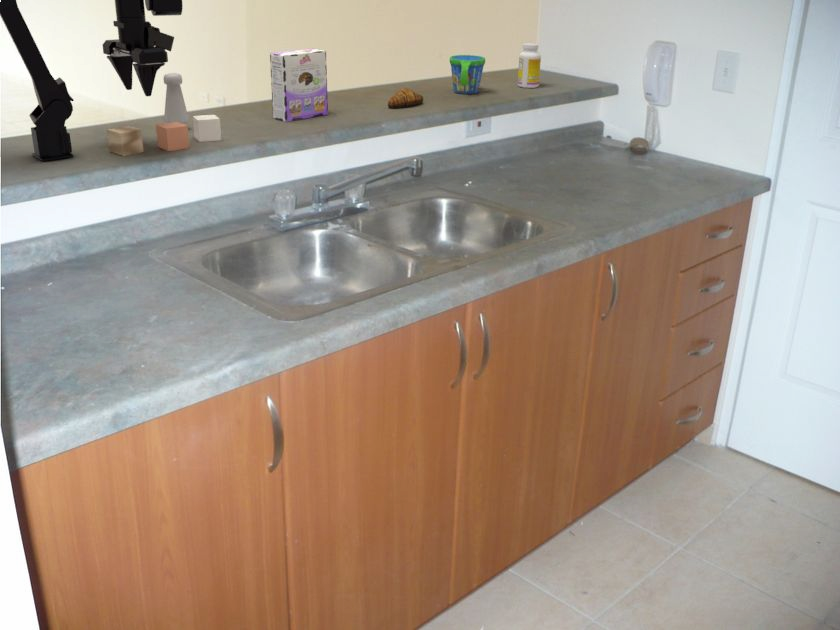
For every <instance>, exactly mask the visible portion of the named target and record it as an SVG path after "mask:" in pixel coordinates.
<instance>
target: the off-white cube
mask: <svg viewBox="0 0 840 630" xmlns="http://www.w3.org/2000/svg"><path fill="white" fill-rule="evenodd" d="M192 124H193V125H192V126H193V135H194V139H196V140H197V141H198V142H199V143H203V142H204V143H205V142H206V143H207V142H214V141H215V142H218V141H222V132H221V130H222V129H221V118H220V117H218V116H217V115H215V114H206V115H205V114H204V115H202V114H201V115H193V116H192Z"/></svg>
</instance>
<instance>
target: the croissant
mask: <svg viewBox="0 0 840 630" xmlns="http://www.w3.org/2000/svg"><path fill="white" fill-rule="evenodd" d="M423 102H424V96H423V95H422V94H420V93H417V92H415V91H413V90H412V89H409V88H407V87H404V88H402V89H400V90H397V91H395V93H394V95H392V96H391V98H389V100H388V102H387V107H388V108H390V109H398V108H404V107H406V108H407V107H413V106H415V105H420V104H422V103H423Z"/></svg>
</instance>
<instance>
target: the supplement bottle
mask: <svg viewBox="0 0 840 630" xmlns="http://www.w3.org/2000/svg"><path fill="white" fill-rule="evenodd" d="M522 48H523V51H522V52H520V53H519V56H518V71H517V72H518V74H517V85H518V88H524V89H535V88H538V87H539V85H540V76H541V75H540V74H541V73H540V72H541V61H542V60H541V57H542V55H541V53H540V52H539V51H538V49H539V44H538V43H530V42H529V43H528V42H524V43H523V44H522Z"/></svg>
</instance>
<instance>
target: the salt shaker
mask: <svg viewBox="0 0 840 630" xmlns="http://www.w3.org/2000/svg"><path fill="white" fill-rule="evenodd" d="M162 79H163V84H165V85H166V89H165V90H166V91H165V92H166V93H165V100H164V101H165V102H164V112H163V113H164V115H163V116H164V117H163V121H164V124H165V123H172V122H179V123H181V124H184V125H187V126H188V125H189V122H190V119H189V115H188V110H187V106H186V101H185V99H184V94H183V91H182V87H181V85H182V84H183V77H182V75H181V74H180V73H177V72H169V73H168V72H167V73H165V74H164V75H163V78H162Z"/></svg>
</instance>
